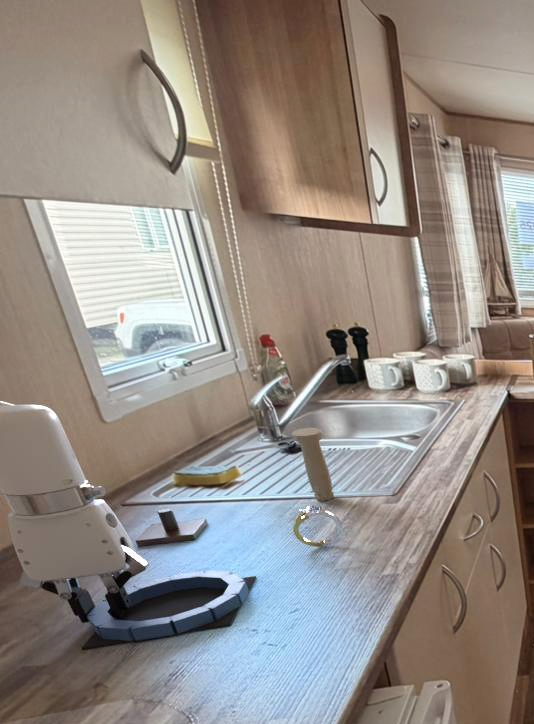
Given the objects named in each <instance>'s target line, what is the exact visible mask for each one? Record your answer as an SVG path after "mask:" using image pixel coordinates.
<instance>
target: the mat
mask: <svg viewBox="0 0 534 724" xmlns="http://www.w3.org/2000/svg"><path fill="white" fill-rule="evenodd" d="M241 578H242V579H244V580H245V582H246V585H247V588H248V590H250V591H251V589H252V588H253V585H254V584H253V583H255V582H256V580H257V575H253V576H246V577H241ZM255 579H256V580H255ZM254 581H255V582H254ZM224 592H225V589H221V588H207V587H200V588H193V589H186V590H179V591H173V592H170V593H167V594H163V595H160V596H157V597H153V598H150V599H146V600H144V601H142V602H140V603H138V604H136V605H134V606H132V607H130V608H129V610H128V611H127V612H126V613H125V614H124V616H123V617H120V618H116V620H126V621H145V620H151V619H158V618H165V617H171V616H174V615H177V614H180V613H183V612H187V611H190V610H193V609H196V608H199V607H202V606H204V605H206V604H208V603H209V602H211V601H213V600H215V599H216V598H218V597H220V596H222V595H223V594H224ZM242 606H243V604H241V606H240V607H238V608H236V609H235V610H233V611H231V612H230V613H228V614H226V615H225V616H223V617H221V618H220V619H218V620H214V622H211V623H208V624H205V625H202V626H199V627H196V628H193V629H190V630H187V631H184V632H181V633H177V632H175V634H174V635H168V636H167V637H171V636H177V635H184V634H191V633H196V632H201V631H207V630H214V629H221V628H227V627H231V626H232V625H233V623H234V622H235V619H236V617H237V615H238V614H237V613H239V612H240V610H241V608H242ZM239 609H240V610H239ZM238 611H239V612H238ZM226 626H227V627H226ZM165 637H166V636H162V637H161V638H165ZM153 639H154V638H150V639H149V640H153ZM155 639H160V637H156V638H155ZM145 640H147V641H148V639H144V640H143V641H145ZM140 641H142V640H138V641H136V640H133V641H124V640H111V639H104V638H101V637H100V636H99V635H98V634H97V633H96V632H95V631H94V632H93V633H92V635H91V636H90V637H89V638H88V639H87V640H86V641H85V643H84V644H83V645H82V646H81V650H82V651H84V650H90V649H98V648H102V647H111V646H116V645H122V644H128V642H129V643H135V642H140ZM121 643H122V644H121Z"/></svg>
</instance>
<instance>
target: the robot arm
mask: <svg viewBox="0 0 534 724" xmlns="http://www.w3.org/2000/svg"><path fill="white" fill-rule="evenodd" d="M0 491H1V493H2V495H3V498H4V499H5V501H6V503H7V505H8V507H9V510H10V511H11V512H10V513H8V514H7V523H8V530H9V534H10V539H11V542H12V544H13V547H14V551H15V553H16V556H17V558H18V561H19V563H20V565H21V567H22V573H21V576H20V579H19V584H20V585H21V586H23V587H28V588H33V589H34V588H35V589H42V590H44V591H46V592H49V593H52V594H54V595H57V596H58V597H59V598H60V599H61V600H66V601H67V602H68V604H69V607H70V609H71V611H72V613H73V614H74V616H75V617H78V618H79V620H80V622H81V624H85V623H90V622H89V620H88V618H87V617H88V616H87V615H88V614H89V613H90V612H91V611H92V610H93V609H94V608H95V606H96V605H95V602H94V601H93V597H92V596H91V594H90V592H89V590H87V588H82V587H81V584H80V581H79V579H78V578H86V577H94V576H98V577H99V579H100V580H101V582H102V583H103V585H104V587H105V589H106V591H107V592H106V593H105V594H104V599H106V600H107V602H108V604H109V606H110V608H111V611H112V613H113V615H114V617H116V618H120V617H123V616H124V614H125V613H126V612H127V611H128V610H129V608H130V607H131V601H130V599H129V596H128V594H127V592H126V590H125V589H126V587H125V585H126V584H127V583H128V581H129V580H130V579H132V578H134V577H136V576H138V575H139V574H141V573H143V572H145V571H146V570H147V569H148V568H149V567H150V563H149V562H148V561H147V560H145V559H143V558H142V557H141V556H140V555H138V554H137V551H136V548H135V546H134V544H133V542H132V540H131V538H130V536H129V534H128V532H127V531H126V530H125V527H124V526H123V525H122V523H121V521H120V520H119V518H118V516H116V513H115V512H114V511H113V510H112V509H111V507H110V506H109V505H108V503H107V502H106V501H105V500H104V499H101V498H100V499H96V498H98V497H104V496H105V495H106V489H105V488H104V487H103V486H101V485H99V486H95V485H91V483H90V480H87V479H86V476H85V474H84V472H83V469H82V468H81V465H80V463H79V461H78V459H77V457H76V453H75V451H74V450H73V447H72V446H71V443H70V441H69V437H68V436H67V433H66V431H65V429H64V427H63V425H62V422H61V420H60V418H59V417H58V415H57V413H56V412H55V411H54V410H53V409H51V408H49V407H47V406H44V405H39V404H14V403H9V402H6V401H2V400H0ZM127 565H128V566H129V567H127ZM126 567H127V568H126Z"/></svg>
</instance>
